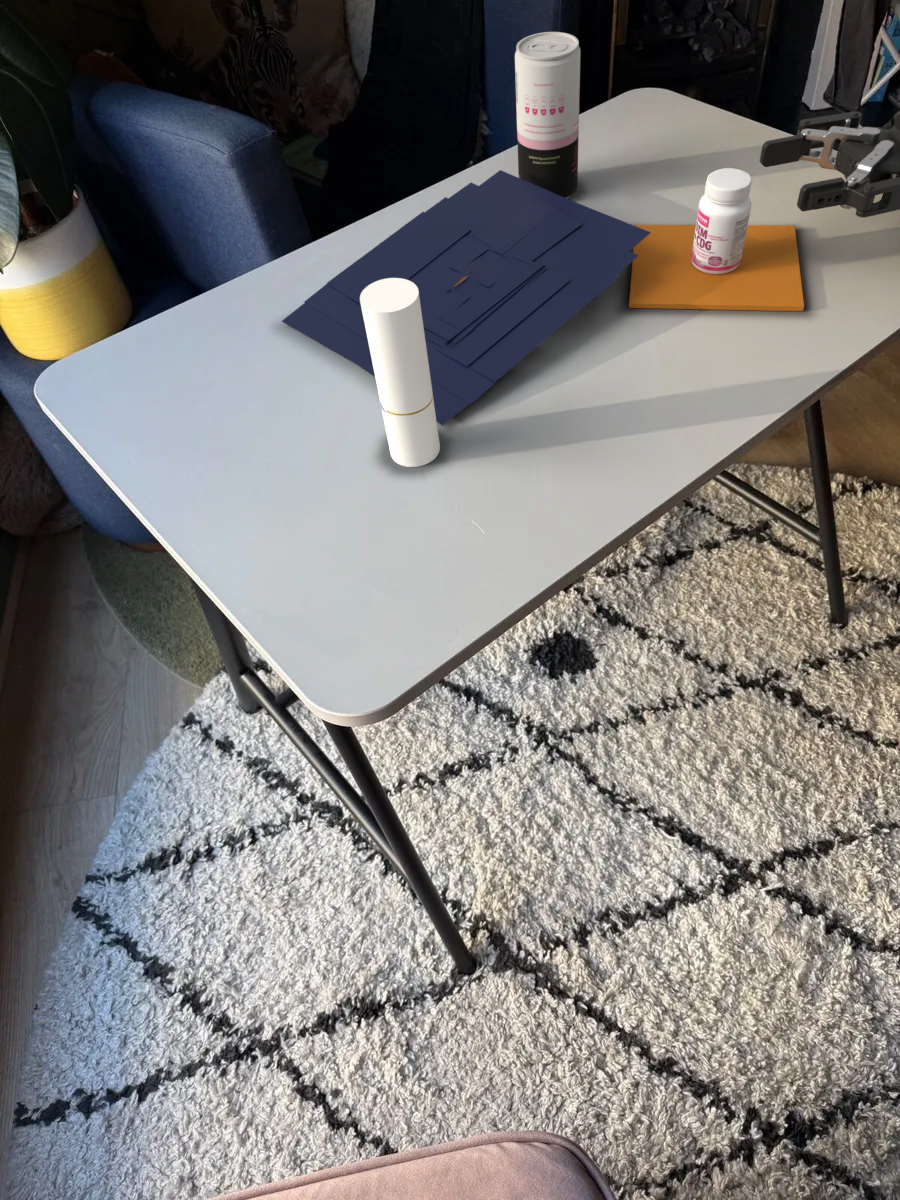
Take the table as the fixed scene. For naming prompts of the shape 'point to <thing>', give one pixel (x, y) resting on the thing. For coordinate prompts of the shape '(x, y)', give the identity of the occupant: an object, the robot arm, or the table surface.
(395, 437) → the tube
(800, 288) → the amber mat
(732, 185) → the pill bottle
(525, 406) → the table surface
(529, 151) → the beverage can
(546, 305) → the papers
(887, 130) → the robot arm
